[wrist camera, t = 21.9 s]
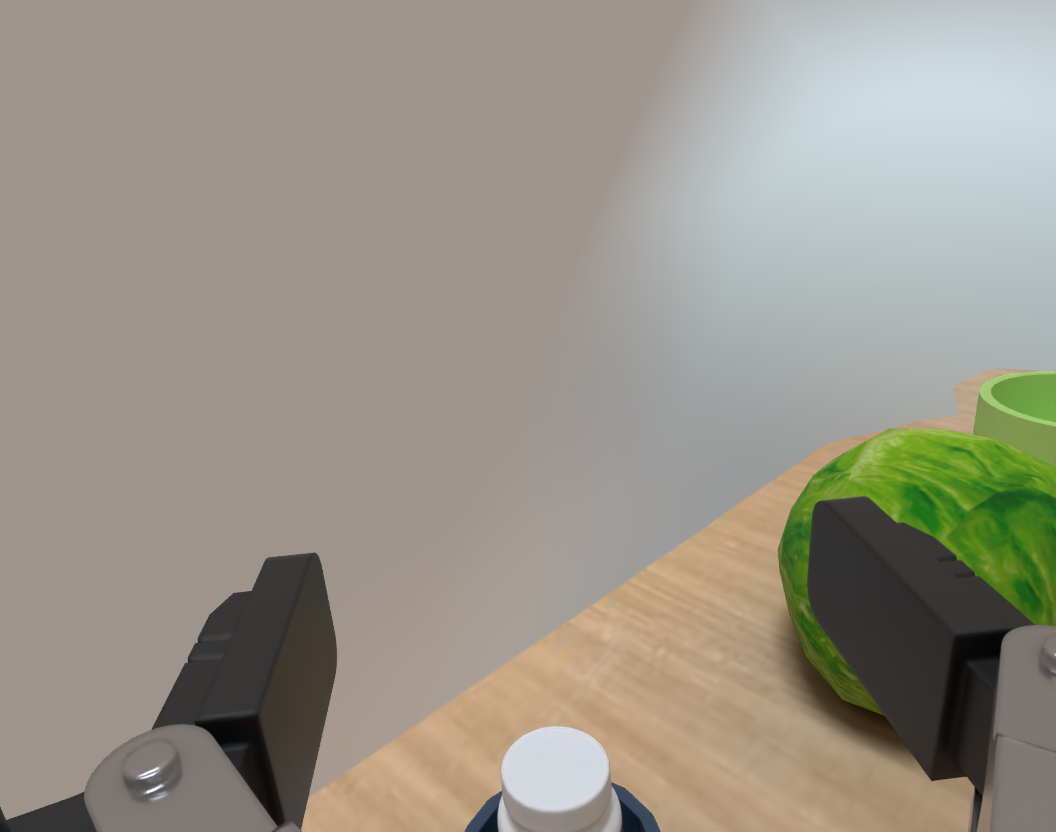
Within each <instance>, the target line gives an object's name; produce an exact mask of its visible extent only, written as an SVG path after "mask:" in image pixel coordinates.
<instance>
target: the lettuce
mask: <svg viewBox="0 0 1056 832" xmlns="http://www.w3.org/2000/svg"><path fill="white" fill-rule="evenodd" d="M860 496H866V497H868V498H870V499H871V500H872V501H873V502H874V503H875V504H877V505H878V506H879V507H880V508H881V509H882V510H883V511H884V512H885V513H886V514H888V515H889V516H890V517H891V518H892V519H893V520H894V521H895V522H896V523H902V522H904V523H906V524H908V525H910V526H912V527H914V528H916V529H918V530H920V531H923V532H925V533H927V534H929V535H931V536H933V537H935V538H936V539H937V540H938V541H940V542H941V543H942V544H943V545H944V546H945V547H946V548H948V549H949V550H950V551H951V552H952V553H953V554H955V555H956V556H957V560H961V561H963V562H964V563H965V564H966V565H967V566H968V567H970V568H971V569H972V570H973V571H974V572H975V576H980V577H981V578H982V579H983V580H984V581H986V582H987V583H988V584H989V585H990V586H991V587H993V588H994V589H995V590H996V591H997V592H998V593H999V594H1001V595H1002V596H1003V597H1004V598H1005V599H1006V600H1007V601H1009V602H1010V603H1011V604H1012V605H1013V606H1014V607H1016V608H1017V609H1018V610H1019V611H1020V612H1021V613H1022V614H1024V615H1025V616H1026V617H1027V618H1028V619H1029V620H1030V621H1032V622H1033V623H1034V624H1035V625H1047V626H1056V467H1055V466H1053V465H1051V464H1048V463H1046V462H1044V461H1042V460H1040V459H1038V458H1036V457H1034V456H1032V455H1030V454H1027V453H1025V452H1023V451H1021V450H1019V449H1017V448H1015V447H1013V446H1011V445H1009V444H1006V443H1004V442H1002V441H1000V440H998V439H993V438H987V437H982V436H976V435H970V434H965V433H959V432H954V431H948V430H942V429H888V430H886V431H884V432H882V433H880V434H879V435H877V436H875V437H873V438H871V439H869V440H868V441H866V442H864V443H862V444H860V445H859V446H857V447H855V448H853V449H851V450H849V451H848V452H846V453H844V454H842V455H840V456H838V457H837V458H835V459H833V460H832V461H831V462H829V463H828V464H827V465H826V466H824V467H823V468H822V469H821V470H820V471H818V472H817V473H816V474H815V475H813V477H812V478H811V480H810V481H809V483H808V484H807V486H806V487H805V489H804V490H803V492H802V493H801V495H800V496H799V498H798V499H797V501H796V502H795V504H794V506H793V507H792V509H791V511H790V514H789V517H788V520H787V523H786V526H785V529H784V532H783V535H782V538H781V541H780V544H779V547H778V557H779V568H780V574H781V579H782V583H783V588H784V592H785V597H786V601H787V605H788V610H789V613H790V616H791V619H792V621H793V624H794V626H795V629H796V631H797V634H798V637H799V639H800V642H801V644H802V647H803V650H804V652H805V655H806V657H807V659H808V660H809V661H810V662H811V663H812V664H813V666H814V667H815V668H816V669H817V670H818V672H819V673H820V674H821V675H822V676H823V677H824V679H825V680H826V681H827V682H828V683H829V685H830V686H831V687H832V688H833V689H834V690H835V692H836V693H837V694H838V695H839V696H840V698H841V699H842V700H844V701H847V702H850V703H852V704H855V705H858V706H860V707H863V708H865V709H868V710H871V711H873V712H876V713H879V714H881V715H884V714H883V713H882V711H881V710H880V709H879V707H878V706H877V704H876V703H875V702H874V700H873V699H872V697H871V696H870V695H869V693H868V692H867V690H866V689H865V688H864V686H863V685H862V684H861V682H860V681H859V679H858V678H857V677H856V675H855V674H854V672H853V671H852V670H851V668H850V667H849V665H848V664H847V663H846V661H845V660H844V659H843V657H842V656H841V654H840V653H839V652H838V650H837V649H836V647H835V646H834V645H833V643H832V642H831V640H830V639H829V638H828V636H827V635H826V633H825V632H824V631H823V629H822V628H821V627H820V625H819V624H818V622H817V621H816V619H815V617H814V615H813V612H812V609H811V606H810V603H809V598H808V591H807V577H808V564H809V550H810V537H811V523H812V513H813V509H814V506H815V504H816V503H817V502H818V501H822V500H831V499H841V498H850V497H860ZM884 716H885V715H884Z"/></svg>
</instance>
